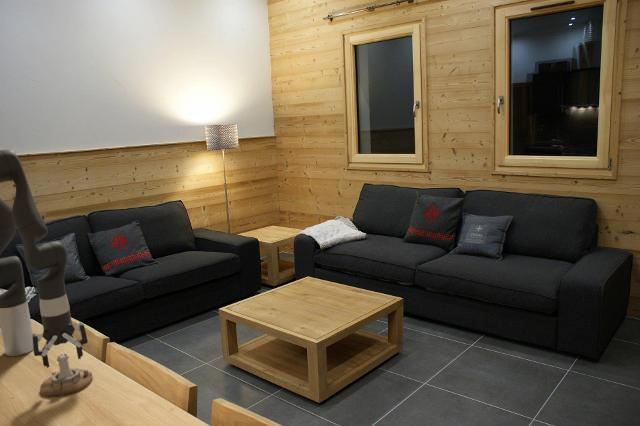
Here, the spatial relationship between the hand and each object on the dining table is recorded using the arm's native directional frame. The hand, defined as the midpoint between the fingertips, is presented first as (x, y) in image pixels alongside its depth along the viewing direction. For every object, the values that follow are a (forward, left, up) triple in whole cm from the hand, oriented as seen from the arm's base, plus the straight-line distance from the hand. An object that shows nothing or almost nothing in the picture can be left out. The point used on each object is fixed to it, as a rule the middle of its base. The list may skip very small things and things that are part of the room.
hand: (63, 362), depth 159 cm
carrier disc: (0, 0, -7) cm, 7 cm away
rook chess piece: (0, 0, -6) cm, 6 cm away
